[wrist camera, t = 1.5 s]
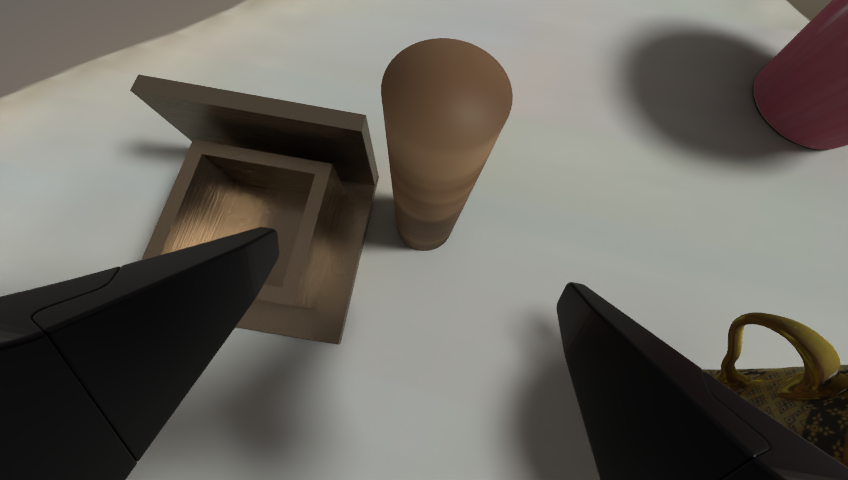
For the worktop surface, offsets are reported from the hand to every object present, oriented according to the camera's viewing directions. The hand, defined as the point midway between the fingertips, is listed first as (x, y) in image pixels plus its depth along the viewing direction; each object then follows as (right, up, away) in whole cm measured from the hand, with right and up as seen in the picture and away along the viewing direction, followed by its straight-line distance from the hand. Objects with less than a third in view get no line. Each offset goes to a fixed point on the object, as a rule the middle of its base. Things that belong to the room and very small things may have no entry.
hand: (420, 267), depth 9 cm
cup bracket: (-10, +1, +12) cm, 15 cm away
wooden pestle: (0, +2, +12) cm, 13 cm away
